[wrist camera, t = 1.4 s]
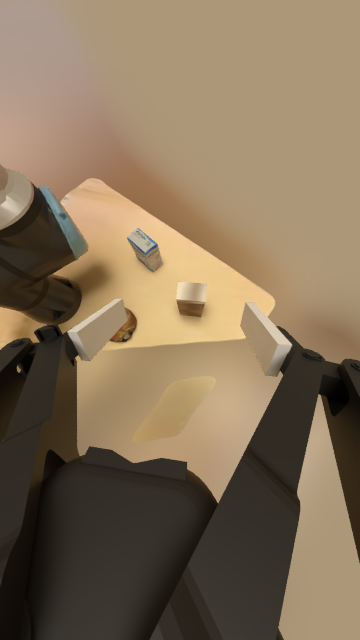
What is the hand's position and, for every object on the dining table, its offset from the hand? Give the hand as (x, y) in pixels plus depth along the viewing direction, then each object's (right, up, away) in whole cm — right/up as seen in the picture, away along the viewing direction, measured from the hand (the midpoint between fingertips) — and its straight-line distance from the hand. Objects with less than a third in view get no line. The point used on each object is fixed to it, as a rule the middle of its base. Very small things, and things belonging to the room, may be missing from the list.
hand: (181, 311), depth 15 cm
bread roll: (-17, -3, +26) cm, 31 cm away
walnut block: (+3, +2, +25) cm, 26 cm away
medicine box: (-10, +18, +30) cm, 37 cm away
